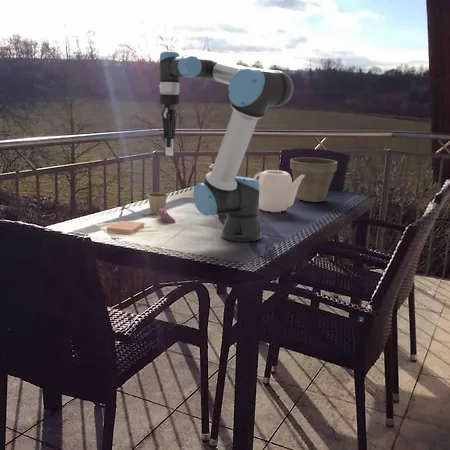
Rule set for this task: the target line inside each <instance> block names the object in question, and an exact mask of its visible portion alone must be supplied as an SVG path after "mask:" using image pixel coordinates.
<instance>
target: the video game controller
mask: <svg viewBox="0 0 450 450" xmlns="http://www.w3.org/2000/svg"><path fill="white" fill-rule="evenodd" d="M156 216H158V217H160V218H161V220H162V221H163V222H164V223H168V224H175V223H176V219H175V218H173V217H172V216H171V215H170V214H169V213H168V211H167V209H166V208H165V209H159V210H158V214H157V215H156Z"/></svg>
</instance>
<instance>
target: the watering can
mask: <svg viewBox="0 0 450 450" xmlns="http://www.w3.org/2000/svg"><path fill="white" fill-rule="evenodd" d="M304 176H305V175H300V176H299V177H298V178H297V179H296V180H295V181H294V180H293V177H291V174H290V173H289V172H287V171H284V170H278V169H277V170H275V169H267V170H264V171H259V172H257V173H256V174H254V176H253V178H252V179H256V180H257V177H259V178H258V181H259V190H260V192H259V206H258V207H259V208H260V210H262V211H263V212H268V211H269V212H270V213H282V212H281V211H283V212H284V210H285V211H286V210H287V208H289V207H290V208H291V207H292V206H293V205H294V202H295V200H296V198H297V195H296V193H297V190H298V187H299V185H300V183H301V180H302V179H303V178H304Z"/></svg>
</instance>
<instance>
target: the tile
mask: <svg viewBox="0 0 450 450" xmlns="http://www.w3.org/2000/svg"><path fill="white" fill-rule="evenodd" d="M128 221H129V220H128ZM128 221H127V220H119V221H116V222H117V223H115V224H113V225H111V226H109V227H107V232H115V233H124V234H133V233H135V232H136V231H138V230H140V229H141V228H143V227H144V223H145V222H144V223H138V222H128Z"/></svg>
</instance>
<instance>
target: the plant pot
mask: <svg viewBox="0 0 450 450" xmlns="http://www.w3.org/2000/svg"><path fill="white" fill-rule="evenodd" d="M289 161H290V162H289V163H290V165H289V168H290V169H291V173H292V174H291V175H292V181H293V182H294V181H295V180H296V179H297V178H298V177H299V176H300V175H305V176H304V178H303V179H302V180H301V183H300V185H299V187H298V190H297V193H296V198H299V199H303V200H322V199H325V200H326V198H327V195H328V191H329V189H330V187H331V183H332V181H333V178H334V174H335V173H336V172H337V170H338V169H337V168H338V161H337V160H333V159H329V158H322V157H321V158H320V157H294V158H293V157H292V158H290V160H289Z"/></svg>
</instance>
